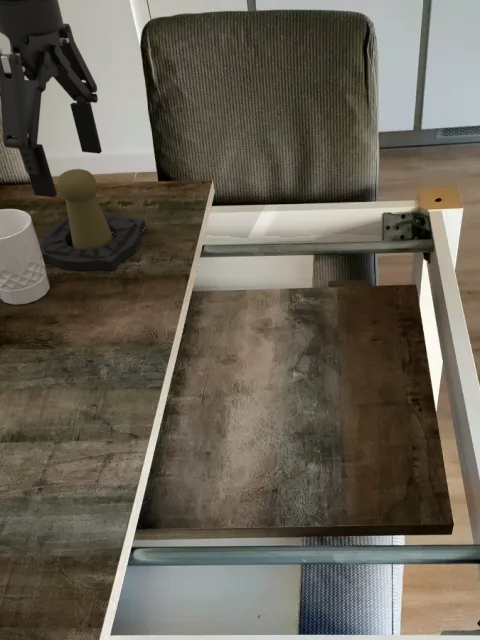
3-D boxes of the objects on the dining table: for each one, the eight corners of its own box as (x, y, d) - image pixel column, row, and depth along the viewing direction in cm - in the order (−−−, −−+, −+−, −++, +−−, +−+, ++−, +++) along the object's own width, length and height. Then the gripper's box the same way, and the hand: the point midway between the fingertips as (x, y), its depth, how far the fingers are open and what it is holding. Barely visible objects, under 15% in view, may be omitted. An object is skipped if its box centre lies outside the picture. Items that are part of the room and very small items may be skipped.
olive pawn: (66, 243, 98) (43, 172, 90) (103, 230, 101) (84, 159, 93) (84, 260, 95) (62, 187, 87) (122, 245, 98) (104, 174, 90)
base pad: (26, 265, 94) (23, 255, 93) (71, 217, 104) (69, 208, 103) (118, 275, 92) (115, 266, 91) (155, 225, 102) (153, 216, 101)
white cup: (21, 314, 86) (-7, 246, 79) (-18, 296, 89) (-49, 229, 82) (66, 285, 90) (44, 218, 83) (27, 269, 93) (2, 203, 86)
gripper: (-9, 23, 66) (51, 219, 81) (98, -32, 83) (132, 138, 98) (-77, 18, 67) (-4, 212, 82) (44, -36, 84) (85, 133, 99)
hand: (70, 172), depth 90 cm, fingers open, 13 cm apart
